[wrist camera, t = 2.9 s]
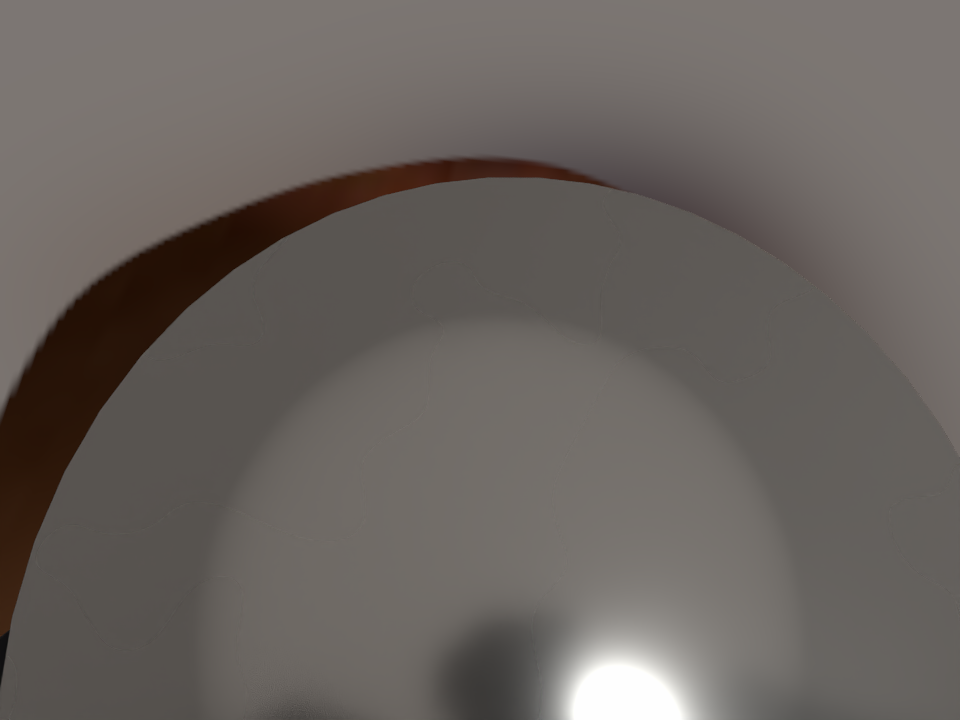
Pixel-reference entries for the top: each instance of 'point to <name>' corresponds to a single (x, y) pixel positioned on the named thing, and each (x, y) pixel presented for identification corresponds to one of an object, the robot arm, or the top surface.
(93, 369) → the top surface
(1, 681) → the robot arm
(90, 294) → the top surface
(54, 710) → the tin
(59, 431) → the top surface
